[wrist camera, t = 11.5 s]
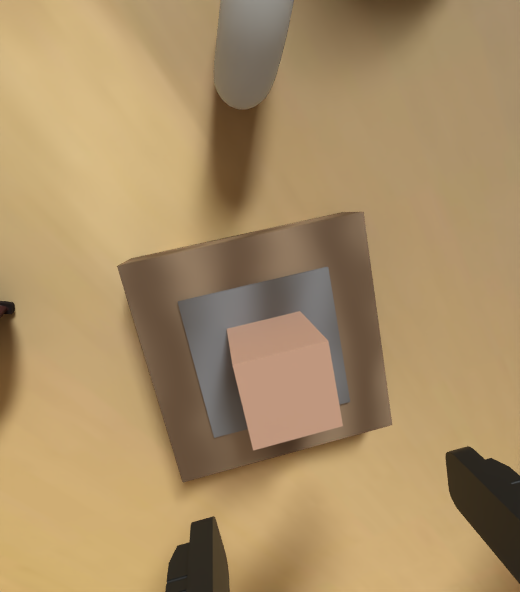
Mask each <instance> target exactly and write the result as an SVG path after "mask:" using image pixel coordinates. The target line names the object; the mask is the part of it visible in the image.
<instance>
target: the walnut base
mask: <svg viewBox="0 0 520 592" xmlns="http://www.w3.org/2000/svg"><path fill="white" fill-rule="evenodd" d="M117 267H118V271H119V274H120V277H121V281H122V284H123V287H124V290H125V294H126V297H127V300H128V304H129V307H130V310H131V314H132V317H133V320H134V323H135V327H136V330H137V333H138V337H139V340H140V343H141V346H142V350H143V353H144V356H145V360H146V363H147V366H148V370H149V373H150V376H151V379H152V383H153V386H154V389H155V393H156V396H157V399H158V402H159V406H160V409H161V412H162V416H163V419H164V422H165V426H166V429H167V432H168V435H169V439H170V442H171V445H172V449H173V452H174V455H175V459H176V462H177V465H178V468H179V472H180V475H181V478H182V482H186V481H190V480H193V479H197V478H201V477H204V476H208V475H212V474H215V473H219V472H223V471H226V470H230V469H234V468H237V467H241V466H245V465H248V464H252V463H255V462H259V461H263V460H266V459H270V458H274V457H277V456H281V455H285V454H288V453H292V452H296V451H299V450H303V449H306V448H310V447H314V446H317V445H321V444H325V443H328V442H332V441H336V440H339V439H343V438H347V437H350V436H354V435H358V434H361V433H365V432H368V431H372V430H376V429H379V428H383V427H387V426H390V425H392V419H391V412H390V404H389V397H388V389H387V382H386V375H385V367H384V360H383V352H382V345H381V338H380V330H379V323H378V315H377V308H376V301H375V293H374V286H373V278H372V271H371V264H370V256H369V249H368V242H367V234H366V227H365V219H364V212H341V213H337V214H332V215H328V216H323V217H319V218H314V219H309V220H305V221H300V222H296V223H291V224H287V225H282V226H278V227H273V228H268V229H264V230H259V231H255V232H250V233H246V234H241V235H236V236H232V237H227V238H223V239H218V240H214V241H209V242H205V243H200V244H195V245H191V246H186V247H182V248H177V249H173V250H168V251H163V252H159V253H154V254H150V255H145V256H141V257H136V258H132V259H129V260H127V261H126V262H124V263H122V264H120V265H118V266H117ZM299 311H300V312H301V313H302V314H303V315H304V316H305V317H306V318H307V319H308V320H309V321H310V322H311V323H312V324H313V325H314V326H315V327H316V328H317V329H318V331H319V332H320V333H321V334H322V335H323V336H324V337H325V338H326V339H327V340H328V342H329V347H330V353H331V359H332V365H333V371H334V376H335V382H336V388H337V394H338V399H339V405H340V411H341V417H342V423H343V426H342V427H338V428H334V429H331V430H327V431H323V432H319V433H316V434H312V435H308V436H305V437H301V438H297V439H294V440H290V441H286V442H283V443H279V444H275V445H272V446H268V447H264V448H261V449H257V450H253V447H252V443H251V439H250V435H249V431H248V427H247V423H246V419H245V415H244V410H243V406H242V402H241V398H240V394H239V390H238V386H237V382H236V378H235V374H234V369H233V365H232V359H231V353H230V347H229V340H228V334H227V329H228V328H232V327H236V326H241V325H245V324H249V323H253V322H257V321H261V320H265V319H270V318H274V317H278V316H282V315H286V314H290V313H294V312H299Z"/></svg>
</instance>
